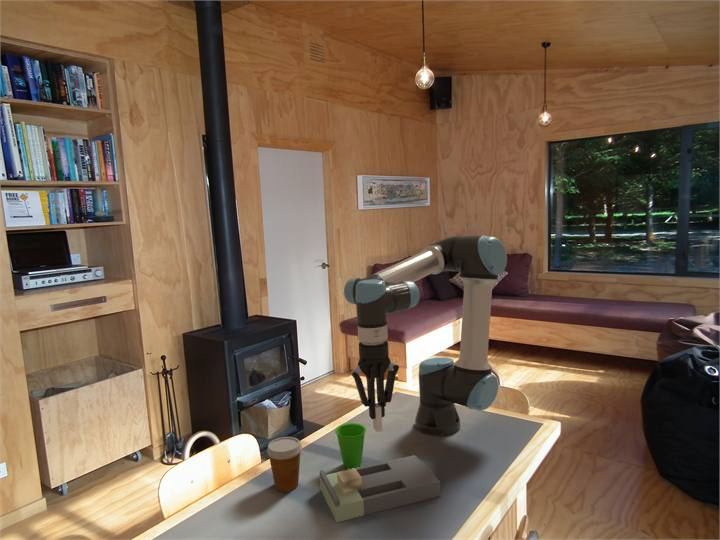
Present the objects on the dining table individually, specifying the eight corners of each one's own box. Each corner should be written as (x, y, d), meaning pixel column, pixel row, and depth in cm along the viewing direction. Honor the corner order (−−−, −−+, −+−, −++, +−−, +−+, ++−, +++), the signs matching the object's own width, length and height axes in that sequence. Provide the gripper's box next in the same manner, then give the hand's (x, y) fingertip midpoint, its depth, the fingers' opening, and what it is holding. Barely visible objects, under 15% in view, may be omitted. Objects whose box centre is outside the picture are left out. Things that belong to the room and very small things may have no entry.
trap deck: (415, 468, 142) (414, 450, 142) (440, 495, 128) (440, 475, 128) (320, 490, 133) (319, 470, 133) (336, 522, 119) (335, 501, 119)
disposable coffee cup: (289, 499, 130) (286, 455, 128) (261, 489, 135) (258, 447, 133) (311, 481, 138) (308, 440, 136) (284, 473, 143) (282, 433, 141)
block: (355, 478, 131) (355, 468, 130) (362, 488, 126) (361, 477, 126) (337, 483, 129) (336, 472, 129) (343, 493, 124) (342, 481, 124)
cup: (364, 474, 140) (362, 437, 139) (333, 472, 142) (331, 435, 141) (370, 458, 149) (368, 423, 148) (341, 456, 151) (339, 422, 150)
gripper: (353, 348, 120) (358, 440, 123) (402, 341, 124) (406, 430, 128) (344, 341, 127) (349, 428, 130) (391, 334, 131) (395, 418, 135)
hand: (377, 429), depth 129 cm, fingers closed
